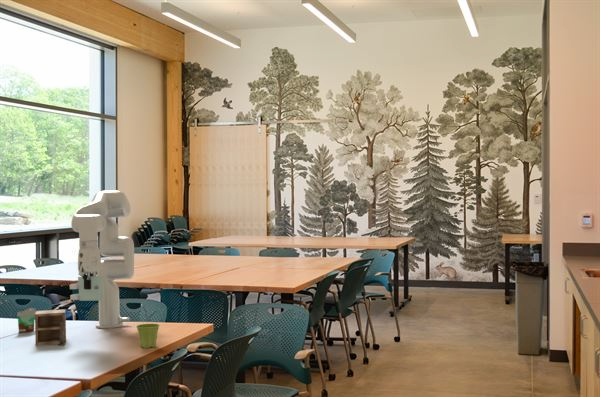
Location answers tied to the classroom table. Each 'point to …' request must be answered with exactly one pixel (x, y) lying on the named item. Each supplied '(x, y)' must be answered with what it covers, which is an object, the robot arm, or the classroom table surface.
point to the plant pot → (148, 334)
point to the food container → (26, 320)
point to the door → (88, 294)
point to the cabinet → (50, 327)
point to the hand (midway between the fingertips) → (89, 288)
